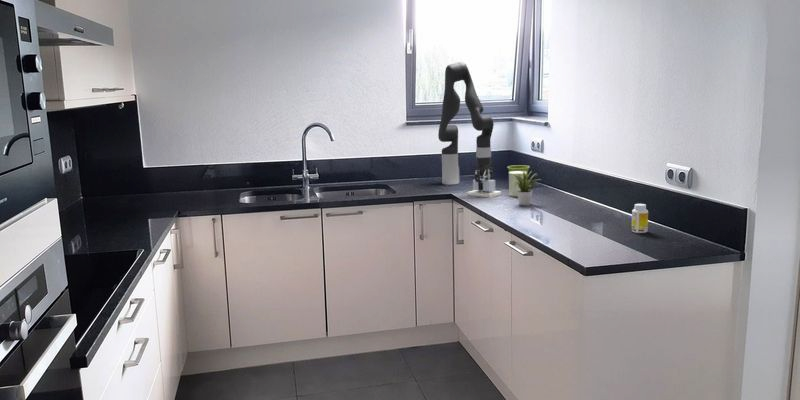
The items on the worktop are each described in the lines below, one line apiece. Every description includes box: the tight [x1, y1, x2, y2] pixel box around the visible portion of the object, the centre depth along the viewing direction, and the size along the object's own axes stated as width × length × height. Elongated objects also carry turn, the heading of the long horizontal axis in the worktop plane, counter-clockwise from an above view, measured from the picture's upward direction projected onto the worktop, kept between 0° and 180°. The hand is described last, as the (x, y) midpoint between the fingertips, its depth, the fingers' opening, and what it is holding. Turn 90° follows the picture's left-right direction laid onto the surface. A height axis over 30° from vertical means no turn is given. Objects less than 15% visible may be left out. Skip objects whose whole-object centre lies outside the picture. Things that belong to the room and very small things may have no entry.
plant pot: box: [506, 164, 530, 174], centre depth 339 cm, size 12×12×11 cm
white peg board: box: [466, 189, 502, 198], centre depth 321 cm, size 10×14×4 cm
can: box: [508, 171, 528, 198], centre depth 317 cm, size 9×9×12 cm
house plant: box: [513, 170, 543, 206], centre depth 290 cm, size 14×14×16 cm
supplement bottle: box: [631, 203, 649, 234], centre depth 232 cm, size 6×6×10 cm
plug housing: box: [472, 178, 496, 192], centre depth 321 cm, size 5×10×5 cm, turn 48°
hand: (484, 189), depth 321 cm, fingers closed on plug housing, 5 cm apart
